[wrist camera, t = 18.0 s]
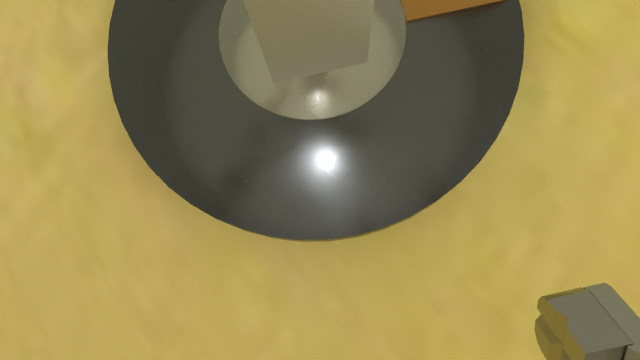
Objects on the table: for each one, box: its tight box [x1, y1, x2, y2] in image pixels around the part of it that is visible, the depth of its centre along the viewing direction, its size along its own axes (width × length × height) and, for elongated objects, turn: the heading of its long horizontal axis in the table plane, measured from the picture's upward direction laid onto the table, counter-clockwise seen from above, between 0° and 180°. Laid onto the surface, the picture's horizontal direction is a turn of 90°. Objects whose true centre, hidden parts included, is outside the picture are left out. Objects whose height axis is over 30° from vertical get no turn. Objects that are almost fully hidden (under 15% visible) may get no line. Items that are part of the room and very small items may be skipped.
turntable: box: [108, 0, 524, 242], centre depth 24 cm, size 20×20×2 cm
